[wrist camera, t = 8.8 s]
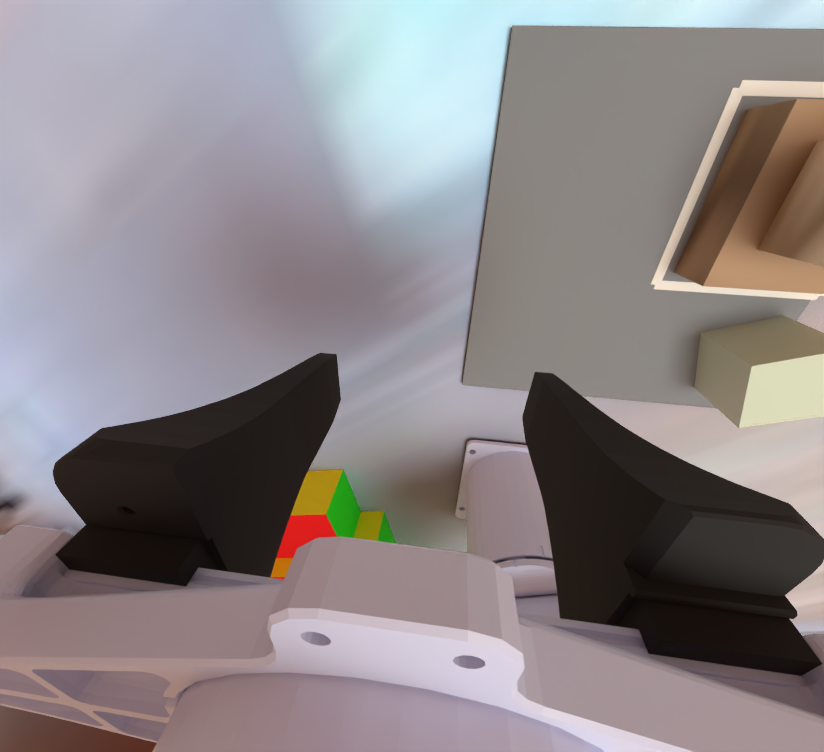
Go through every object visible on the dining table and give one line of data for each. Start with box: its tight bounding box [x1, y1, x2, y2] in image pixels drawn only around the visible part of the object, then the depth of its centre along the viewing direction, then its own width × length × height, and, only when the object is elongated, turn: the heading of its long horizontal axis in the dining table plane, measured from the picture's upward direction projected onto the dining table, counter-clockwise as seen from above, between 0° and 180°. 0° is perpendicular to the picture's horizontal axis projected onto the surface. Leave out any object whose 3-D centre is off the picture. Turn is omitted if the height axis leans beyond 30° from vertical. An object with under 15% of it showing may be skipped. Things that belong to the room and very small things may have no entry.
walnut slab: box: [674, 99, 824, 294], centre depth 15 cm, size 7×7×2 cm
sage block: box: [694, 316, 824, 428], centre depth 18 cm, size 4×4×4 cm
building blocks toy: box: [270, 469, 395, 579], centre depth 30 cm, size 19×25×18 cm
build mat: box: [462, 26, 824, 408], centre depth 18 cm, size 18×18×1 cm
